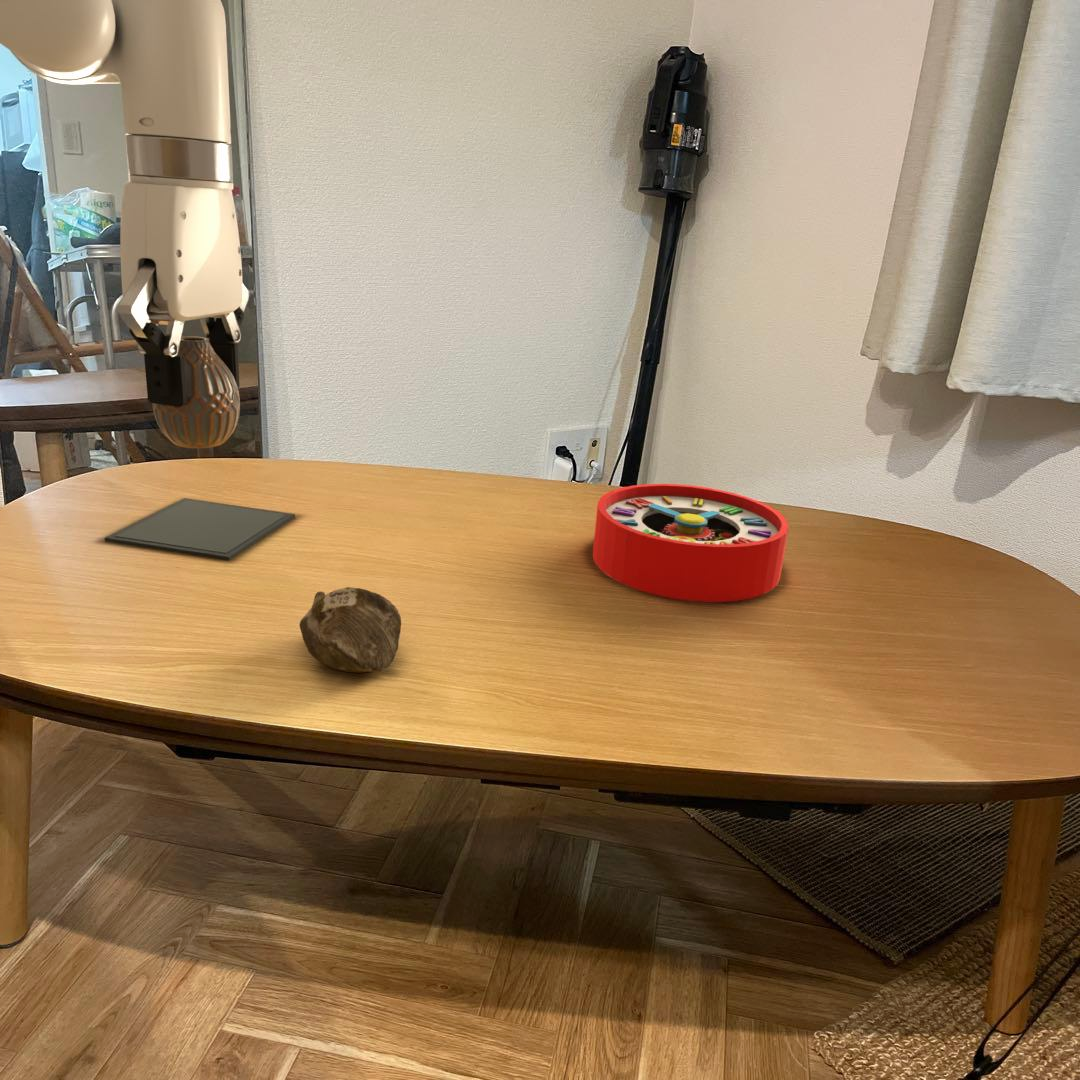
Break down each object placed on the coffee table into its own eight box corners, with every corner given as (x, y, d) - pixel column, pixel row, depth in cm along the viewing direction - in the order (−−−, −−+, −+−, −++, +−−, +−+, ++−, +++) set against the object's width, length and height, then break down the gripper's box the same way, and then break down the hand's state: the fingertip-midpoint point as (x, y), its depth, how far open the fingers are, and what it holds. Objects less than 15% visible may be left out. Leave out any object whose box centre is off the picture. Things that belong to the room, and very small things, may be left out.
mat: (104, 542, 92) (104, 537, 92) (184, 502, 105) (184, 497, 104) (229, 561, 89) (228, 556, 89) (295, 518, 102) (295, 513, 102)
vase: (258, 443, 78) (255, 340, 75) (192, 458, 72) (185, 348, 69) (205, 428, 81) (199, 330, 78) (137, 441, 75) (128, 336, 72)
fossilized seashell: (303, 598, 77) (275, 673, 68) (341, 543, 74) (316, 614, 65) (379, 639, 79) (362, 716, 70) (419, 587, 76) (406, 661, 68)
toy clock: (709, 562, 81) (558, 502, 95) (701, 620, 83) (554, 553, 97) (826, 522, 94) (678, 474, 108) (816, 573, 96) (672, 520, 110)
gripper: (203, 169, 78) (214, 374, 84) (56, 155, 62) (84, 410, 68) (282, 174, 76) (288, 383, 82) (152, 162, 60) (172, 422, 66)
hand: (195, 394), depth 75 cm, fingers closed on vase, 6 cm apart
